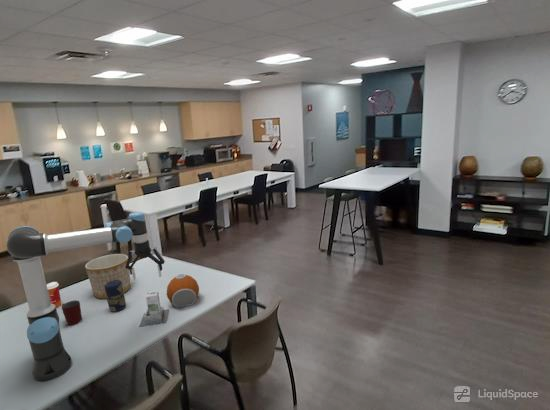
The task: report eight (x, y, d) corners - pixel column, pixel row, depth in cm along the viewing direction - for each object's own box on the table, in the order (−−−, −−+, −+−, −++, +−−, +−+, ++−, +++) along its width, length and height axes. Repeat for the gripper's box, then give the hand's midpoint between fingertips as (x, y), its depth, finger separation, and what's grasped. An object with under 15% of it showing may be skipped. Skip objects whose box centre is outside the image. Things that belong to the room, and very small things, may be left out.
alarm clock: (198, 292, 223) (195, 267, 219) (202, 304, 206) (198, 277, 202) (168, 299, 217) (163, 273, 213) (168, 312, 201) (164, 284, 197)
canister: (120, 312, 205) (114, 284, 201) (105, 312, 207) (100, 284, 203) (129, 304, 214) (124, 277, 210) (116, 304, 216) (110, 277, 212)
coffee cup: (45, 308, 218) (40, 286, 215) (58, 302, 225) (53, 280, 222) (53, 310, 214) (47, 288, 211) (66, 304, 221) (61, 282, 218)
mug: (58, 323, 198) (54, 306, 196) (72, 315, 206) (68, 298, 204) (72, 327, 194) (68, 309, 191) (86, 318, 201) (82, 301, 199)
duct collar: (166, 322, 190) (164, 316, 189) (139, 327, 188) (138, 320, 187) (169, 310, 203) (168, 303, 203) (144, 313, 201) (143, 307, 201)
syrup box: (162, 313, 199) (158, 290, 196) (160, 318, 193) (156, 295, 190) (152, 314, 198) (147, 291, 195) (149, 320, 193) (145, 296, 189)
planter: (103, 304, 217) (97, 272, 212) (84, 295, 233) (77, 264, 228) (141, 287, 237) (135, 257, 232) (121, 279, 252) (115, 251, 248)
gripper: (166, 236, 191) (171, 271, 195) (118, 241, 187) (125, 278, 192) (164, 240, 183) (170, 277, 188) (114, 246, 180) (122, 284, 185)
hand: (147, 277), depth 190 cm, fingers open, 13 cm apart
